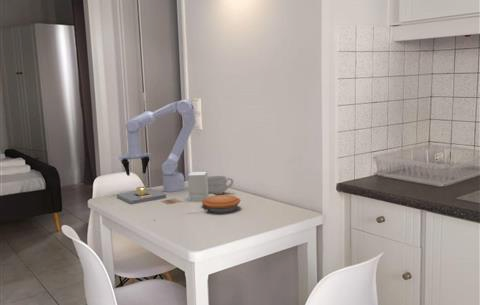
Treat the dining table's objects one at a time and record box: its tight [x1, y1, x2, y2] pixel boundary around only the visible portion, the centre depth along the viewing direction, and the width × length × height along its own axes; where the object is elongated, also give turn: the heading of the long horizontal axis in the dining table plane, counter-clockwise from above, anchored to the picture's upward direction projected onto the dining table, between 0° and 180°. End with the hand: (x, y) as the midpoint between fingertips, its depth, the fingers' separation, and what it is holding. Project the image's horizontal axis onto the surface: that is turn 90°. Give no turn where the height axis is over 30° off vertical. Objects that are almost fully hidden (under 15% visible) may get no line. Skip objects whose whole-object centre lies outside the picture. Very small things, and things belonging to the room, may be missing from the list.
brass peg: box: [136, 186, 147, 196], centre depth 212 cm, size 4×4×6 cm
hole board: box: [116, 188, 167, 205], centre depth 212 cm, size 16×16×3 cm
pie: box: [201, 194, 241, 214], centre depth 194 cm, size 15×16×5 cm
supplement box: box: [187, 171, 210, 202], centre depth 206 cm, size 7×7×13 cm
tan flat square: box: [160, 198, 184, 205], centre depth 204 cm, size 7×7×2 cm
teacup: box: [207, 175, 234, 196], centre depth 220 cm, size 14×11×8 cm
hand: (136, 174), depth 224 cm, fingers open, 7 cm apart
